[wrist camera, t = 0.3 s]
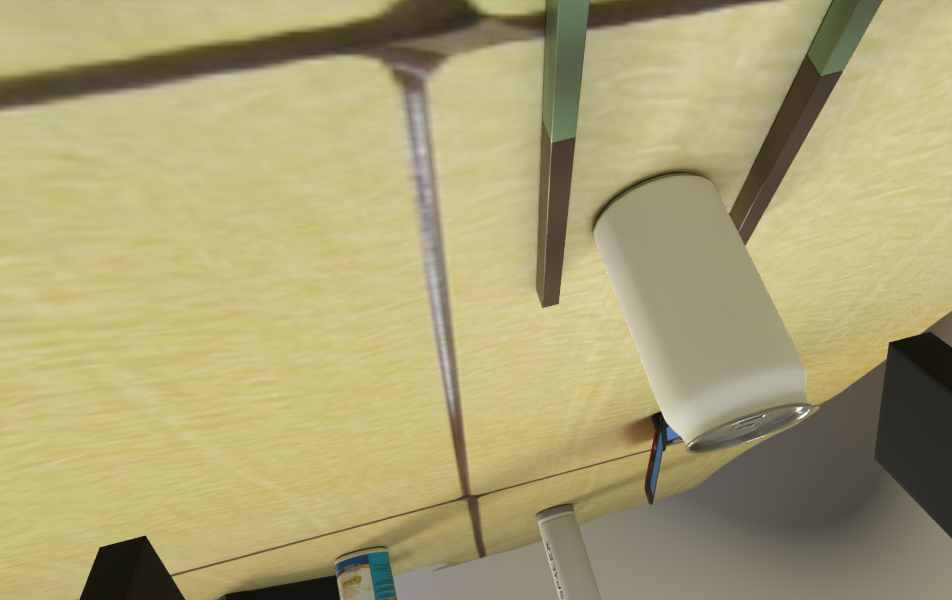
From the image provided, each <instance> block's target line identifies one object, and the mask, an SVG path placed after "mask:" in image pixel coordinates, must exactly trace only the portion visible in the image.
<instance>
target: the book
mask: <svg viewBox="0 0 952 600" xmlns="http://www.w3.org/2000/svg"><path fill="white" fill-rule="evenodd" d="M219 600H340V596H339V589H338V582H337V576H331V577H326V578H320V579H315V580H309V581H303V582H298V583H292V584H287V585H281V586H276V587H270V588H264V589H259V590H253V591H248V592H246V591H245V592H239V593H233V594H228V595H224V596H223V597H222V598H220V599H219Z"/></svg>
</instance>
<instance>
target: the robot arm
mask: <svg viewBox="0 0 952 600" xmlns="http://www.w3.org/2000/svg"><path fill="white" fill-rule="evenodd" d="M874 459H875V460H876V461H877V462H878V463H879V464H880V465H881V466H882V467H883V468H884V469H885V470H886V471H887V472H888V473H889V474H890V475H891V476H892V477H893V478H894V479H895V480H896V481H897V482H898V483H899V484H900V485H901V486H902V487H903V488H904V490H905V491H907V492H908V494H909V495H910V496H911V497H912V498H913V499H914V500H915V501H916V502H917V503H918V504H919V505H920V506H921V507H922V508H923V509H924V510H925V511H926V512H927V513H928V514H929V515H930V516H931V517H932V518H933V520H935V522H936V523H937V524H938V525H939V526H940V527H942V529H943V530H944V531H945V532H946V533H947V534H948V535H949V536H950V537H951V538H952V347H950V346H949V345H948V344H946V343H945V342H943V341H942V340H941V339H939V338H938V337H937V336H935V335H934V334H933V333H931V332H928V333H924V334H920V335H916V336H912V337H908V338H905V339H901V340H897V341H893V342H889V347H888V355H887V363H886V370H885V378H884V386H883V393H882V401H881V410H880V417H879V424H878V432H877V440H876V448H875V456H874ZM80 600H185V598H184V597H183V595H182V594H181V592H180V590H179V589H178V587H177V585H176V584H175V582H174V581H173V579H172V577H171V576H170V574H169V573H168V571H167V569H166V568H165V566H164V565H163V563H162V561H161V560H160V558H159V556H158V555H157V553H156V552H155V550H154V548H153V547H152V545H151V544H150V542H149V540H148V539H147V537H146V536H142V537H138V538H134V539H130V540H127V541H123V542H119V543H115V544H111V545H107V546H103V547H100V548H99V551H98V553H97V556H96V558H95V561H94V564H93V566H92V569H91V571H90V574H89V577H88V579H87V582H86V584H85V587H84V590H83V592H82V595H81V597H80Z"/></svg>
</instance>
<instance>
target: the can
mask: <svg viewBox="0 0 952 600" xmlns="http://www.w3.org/2000/svg"><path fill="white" fill-rule="evenodd" d="M594 239H595V242H596V245H597V248H598V251H599V253H600V256H601V259H602V261H603V264H604V267H605V269H606V272H607V274H608V277H609V280H610V282H611V285H612V287H613V290H614V293H615V295H616V298H617V300H618V303H619V306H620V308H621V311H622V313H623V316H624V319H625V321H626V324H627V326H628V329H629V331H630V334H631V337H632V339H633V342H634V344H635V347H636V349H637V352H638V355H639V357H640V360H641V362H642V365H643V367H644V370H645V372H646V375H647V378H648V380H649V383H650V385H651V388H652V390H653V393H654V395H655V398H656V400H657V403H658V405H659V408H660V410H661V412H662V415H663V417H664V419H665V421H666V423H667V424H668V425H669V426H670V427H671V428H672V429H673V430H674V431H675V432H676V433H677V434H678V435H679V436H680V437H681V438H682V439H683V440H684V442H685V443H686V445H687V446H686V451H687V452H689V453H694V454H697V453H707V452H712V451H717V450H722V449H726V448H730V447H733V446H737V445H740V444H743V443H747V442H750V441H753V440H756V439H758V438H761V437H764V436H767V435H769V434H772V433H774V432H777V431H779V430H781V429H784V428H786V427H788V426H790V425H792V424H794V423H796V422H798V421H800V420H801V419H803V418H805V417H806V416H807V415H809V414H810V413H811V412H812V410H813V406H812V405H811V404H809V403H808V400H807V395H806V388H807V376H806V371H805V368H804V365H803V363H802V361H801V359H800V356H799V354H798V352H797V350H796V348H795V346H794V344H793V342H792V340H791V338H790V336H789V334H788V332H787V330H786V328H785V326H784V324H783V322H782V320H781V318H780V315H779V313H778V311H777V309H776V307H775V305H774V303H773V301H772V299H771V297H770V295H769V293H768V291H767V289H766V287H765V285H764V283H763V281H762V279H761V277H760V275H759V273H758V271H757V269H756V267H755V265H754V263H753V261H752V259H751V257H750V255H749V253H748V251H747V249H746V247H745V245H744V243H743V241H742V239H741V237H740V235H739V233H738V231H737V229H736V227H735V225H734V223H733V221H732V219H731V217H730V215H729V213H728V211H727V209H726V207H725V205H724V203H723V201H722V199H721V197H720V196H719V194H718V192H717V190H716V188H715V186H714V185H713V183H712V182H711V181H709V180H708V179H705V178H703V177H700V176H698V175H695V174H691V173H672V174H666V175H662V176H658V177H655V178H652V179H649V180H646V181H644V182H642V183H639V184H637V185H635V186H633V187H631V188H630V189H628V190H626V191H625V192H623V193H622V194H620V195H619V196H618V197H616V198H615V199H614V200H613V201H611V202H610V203H609V204H608V205H607V206H606V208H605V209H604V210H603V211H602V213H601V214H600V216H599V218H598V221H597V224H596V226H595V229H594Z"/></svg>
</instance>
